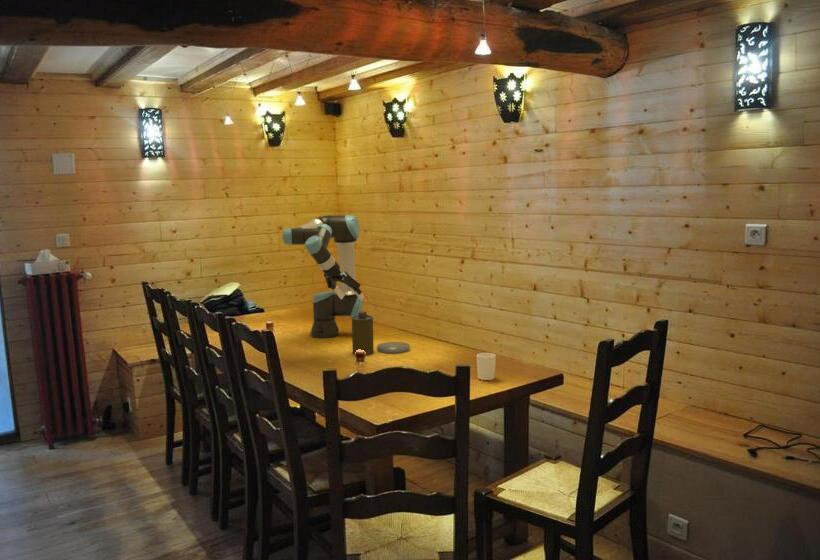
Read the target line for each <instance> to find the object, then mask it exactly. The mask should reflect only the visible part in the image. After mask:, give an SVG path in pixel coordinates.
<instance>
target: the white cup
mask: <svg viewBox="0 0 820 560" xmlns="http://www.w3.org/2000/svg"><path fill="white" fill-rule="evenodd" d="M496 358H497V355H496V354H495V353H491V352H480V353H477V354H476V368H477V372H476V373H477V379H478V378H479V379H484V380H491V379H494V380H495V376H496V374H495V373H496V361H497V359H496ZM479 379H478V380H479ZM491 381H492V380H491Z"/></svg>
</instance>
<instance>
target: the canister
mask: <svg viewBox="0 0 820 560" xmlns="http://www.w3.org/2000/svg"><path fill="white" fill-rule="evenodd" d="M351 337H352V352H351V353H353V355H354V354H355V352H356V350H358V349H361V350H364V351H365V352H366V355H365V356H371V355H373V354H374V353H375V351H374V350H375V349H374V316H372V315H368V314H367V311H360V312H359V313H358V316H352V317H351Z"/></svg>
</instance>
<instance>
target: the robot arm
mask: <svg viewBox="0 0 820 560" xmlns="http://www.w3.org/2000/svg"><path fill="white" fill-rule="evenodd" d="M360 230H361V229H360V224H359V220H358V218H357V216H355V215H349V214H340V215H338V214H337V215H336V214H335V215H330V214H329V215H322V216H318V217H316V218H313V219H310V220H309V221H308V222H307V223H305V224H303V225H300V226H298V227H294V228H291V227H290V228H289V227H288V228H284V230H283V232H282V241H283V244H284V245H289V246H293V245H296V246H297V245H298V246H299V245H302V246H303V245H304V247H305V249H306V251H307V253H308V254H309V255H310V256H311V257H312V258H313V259H314V261H315V263H317V265H318V266H319V268H320V269H321V271H322V272H323V273H324V274H323V277H324V278H325V281H326V285H327V288H328V289H331V290H329V291H328V290H327V291H322V292H321V291H320V292H317V293H315V294H314V295H313V296H312V297H313V298H312V308H313V309H312V310H313V311H312V312H313V322H312V326H311V329H310V336H311V337H312V338H319V339H322V338H323V339H324V338H325V339H327V338H334V337H337V336H339V335H340V330H339V329H340V328H339V327H338V324H337V321H336V317H351V318H352V317H353V316H358V313H359V312H360V311H362V310H363V306H364V298H365V297H366V296H365V295H364V293H363V292H362V290H361V289H360V287H361V284H360V283H359V282H358V281H357V280H356V279H357V274H356V261H355V260H356V258H355V255H356V254H355V244H356V242H357V239H358V238H359V237H360V235H361V233H360V232H361V231H360ZM331 239H333V242H334V243H335V244H336V245H337V246H336V247H337V258H338V259H337V261H338V262H337V261H336V259H335V257H334V256H333V255H332V253H331V252H330V251H329V249H328V247H329V244H330V241H331ZM337 282H339V285H337Z"/></svg>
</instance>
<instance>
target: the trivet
mask: <svg viewBox="0 0 820 560" xmlns="http://www.w3.org/2000/svg"><path fill="white" fill-rule="evenodd" d="M410 346H411V345H410V344H409V343H406V342H402V341H387V342H382V343H378V344H377V345H376V351H377V352H378V353H381V354H387V355H388V354H389V355H396V354H404V352H405V353H408V352H409V351H411V350H410V349H411V347H410ZM407 351H408V352H407Z"/></svg>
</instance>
